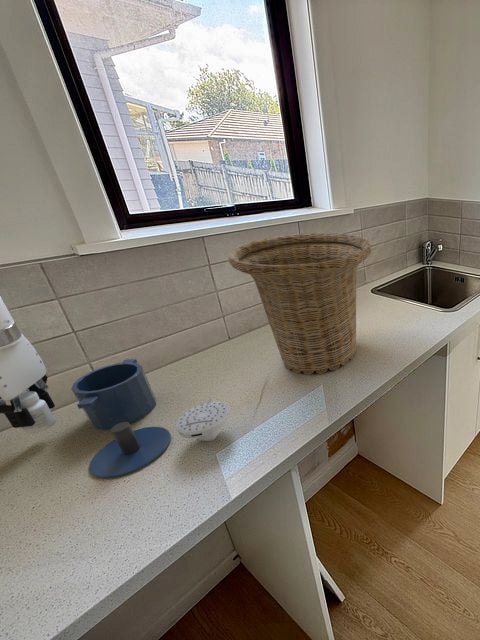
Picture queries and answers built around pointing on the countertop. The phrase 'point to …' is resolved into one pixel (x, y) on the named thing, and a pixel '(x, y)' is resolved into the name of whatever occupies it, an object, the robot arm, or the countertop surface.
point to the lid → (129, 450)
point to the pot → (115, 394)
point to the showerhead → (204, 421)
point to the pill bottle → (37, 412)
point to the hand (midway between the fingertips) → (35, 416)
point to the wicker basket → (307, 294)
